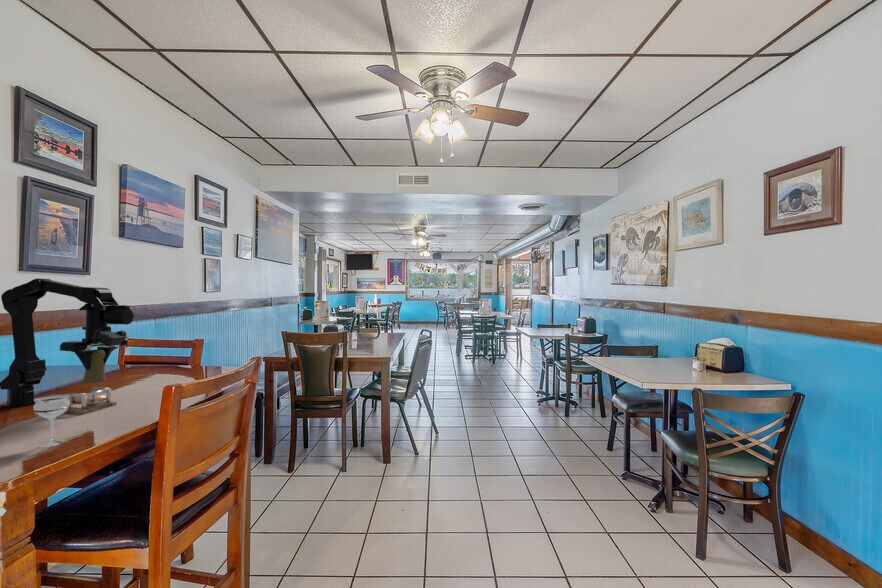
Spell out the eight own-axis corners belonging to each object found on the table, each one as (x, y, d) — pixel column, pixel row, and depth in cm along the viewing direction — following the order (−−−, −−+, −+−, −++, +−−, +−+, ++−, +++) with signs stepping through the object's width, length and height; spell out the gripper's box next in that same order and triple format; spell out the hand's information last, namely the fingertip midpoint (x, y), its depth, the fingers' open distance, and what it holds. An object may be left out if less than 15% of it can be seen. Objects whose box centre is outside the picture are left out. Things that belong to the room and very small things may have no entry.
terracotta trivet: (66, 401, 137) (67, 399, 137) (95, 394, 147) (95, 392, 147) (91, 403, 136) (91, 400, 136) (118, 396, 146) (118, 393, 146)
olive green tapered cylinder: (110, 380, 137) (111, 349, 137) (93, 383, 131) (95, 351, 131) (95, 379, 138) (96, 348, 138) (77, 382, 132) (79, 350, 132)
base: (59, 412, 126) (59, 409, 126) (94, 403, 136) (94, 400, 136) (83, 414, 124) (83, 411, 124) (116, 404, 135) (116, 402, 135)
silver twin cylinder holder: (64, 408, 126) (65, 393, 126) (93, 401, 135) (94, 386, 135) (83, 410, 125) (84, 394, 125) (111, 402, 134) (112, 387, 134)
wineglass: (70, 443, 101) (71, 397, 101) (32, 451, 96) (34, 402, 96) (67, 436, 106) (68, 393, 106) (31, 443, 100) (32, 397, 100)
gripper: (88, 326, 124) (86, 375, 124) (141, 323, 143) (139, 365, 143) (59, 325, 126) (57, 373, 126) (115, 321, 144) (113, 363, 144)
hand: (94, 368), depth 135 cm, fingers closed on olive green tapered cylinder, 4 cm apart
